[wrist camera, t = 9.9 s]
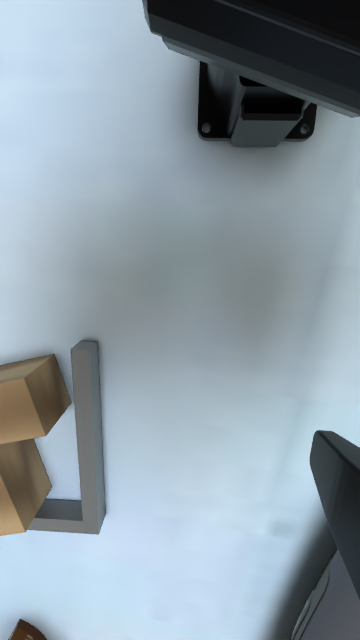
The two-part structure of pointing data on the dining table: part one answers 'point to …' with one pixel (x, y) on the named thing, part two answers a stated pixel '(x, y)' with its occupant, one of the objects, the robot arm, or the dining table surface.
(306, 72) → the robot arm
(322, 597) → the bluetooth speaker
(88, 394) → the fence pocket
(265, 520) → the dining table surface
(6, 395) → the t block
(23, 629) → the food container
